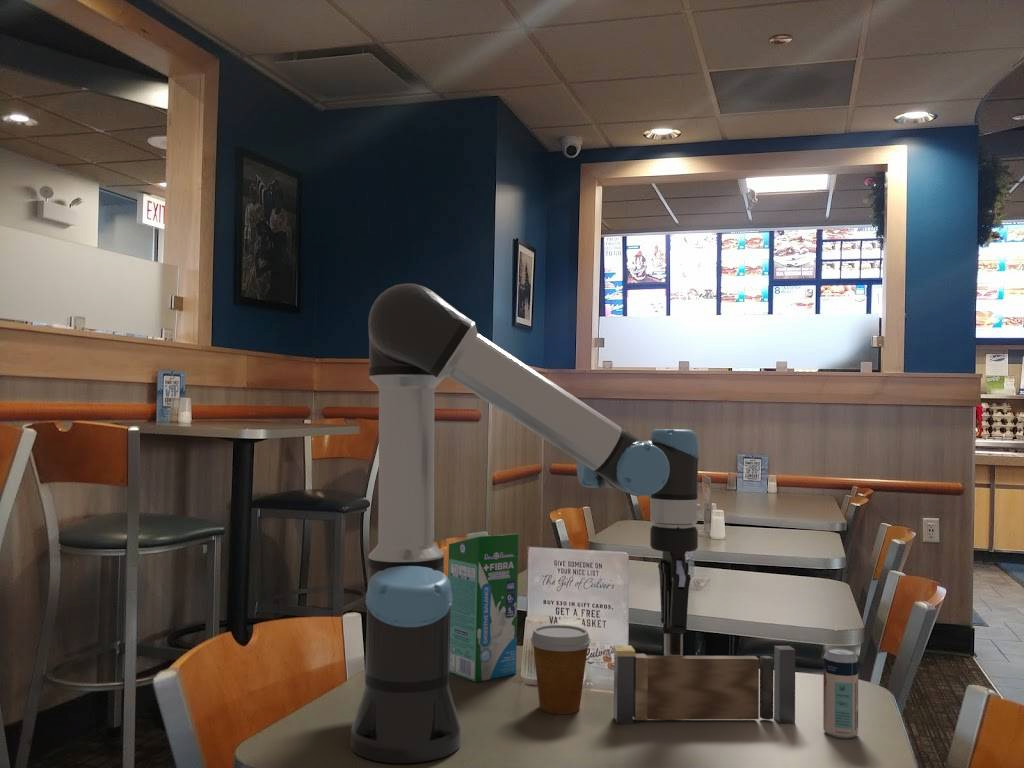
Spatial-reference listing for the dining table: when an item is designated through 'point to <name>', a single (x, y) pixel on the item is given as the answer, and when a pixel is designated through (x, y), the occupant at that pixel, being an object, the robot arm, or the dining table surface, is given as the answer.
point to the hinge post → (784, 684)
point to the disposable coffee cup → (560, 666)
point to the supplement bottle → (840, 693)
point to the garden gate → (702, 687)
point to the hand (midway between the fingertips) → (673, 673)
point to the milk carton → (483, 606)
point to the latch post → (623, 683)
